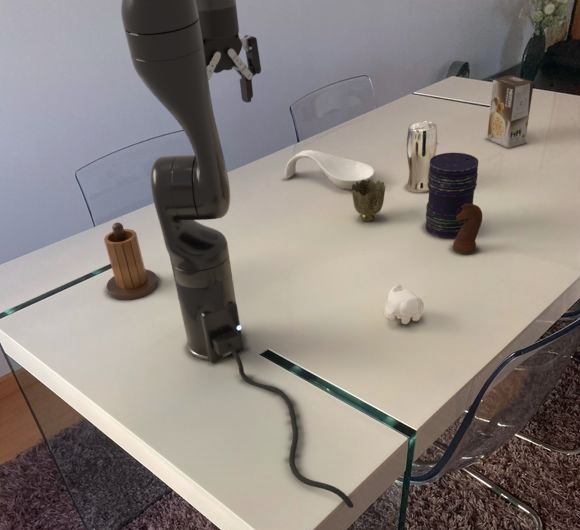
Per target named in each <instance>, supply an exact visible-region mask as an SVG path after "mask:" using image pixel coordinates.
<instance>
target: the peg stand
mask: <svg viewBox="0 0 580 530" xmlns="http://www.w3.org/2000/svg"><path fill="white" fill-rule="evenodd" d="M124 229H125V228H124V225H123V224H122V223H121V222H114V223H113V224H112V232H113V233H114V236H115V240H116V242H122V241H125V240H126V236H125V232H124ZM145 271H146V275H147V280H146V282H145V283H144V284H143V285H141V286H139V287H136V288H133V289H123V288H120V287H118V286H117V284H116V281H115V277H114V275H113V276H112V277H111V278H110V279H109V280H108V281H107V283H106V289H107V293H108V295H109V296H110V297H111V298H113V299H116V300H121V301H131V300H136V299H140V298H143V297H145V296H147V295H149V294H151V293H152V292H154V291H155V290H156V289H157V287H158V285H159V281H158V277H157V274H156V273H155V272H154V271H152V270H150V269H146V268H145Z"/></svg>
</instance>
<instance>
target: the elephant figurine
mask: <svg viewBox="0 0 580 530" xmlns="http://www.w3.org/2000/svg"><path fill="white" fill-rule="evenodd" d="M387 298H388V299H387V301H386V305H385V308H384V311H383V313H384V314H385V317H386V319H387V320H388V321H393V320H395V318H397V319H398V320H401V323H402V325H407V324H409V323H410V321H411V320H412V321H413V322H417V321H419V320H420V318H421V316H422V314H423V311H424V307H425V304H424V299H425V298H427V295H424V297H421V298H420V296H418V295H417V294H416V293H415V292H414V291H413V290H411V289H403V285H402V284H396V285H395V286H394V287H392V288H391V289H390V290H389V293H388V295H387Z"/></svg>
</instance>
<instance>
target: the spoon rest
mask: <svg viewBox="0 0 580 530" xmlns="http://www.w3.org/2000/svg"><path fill="white" fill-rule="evenodd" d="M304 158H306V159H310V160H312V161H314V163H316V164H317V165H318V166H319V168H320V169H321V171H322V172H323V173H324V174H325V176H326V177H327V178H328V180H329V181H330V182H331V183H332V184H333V185H335V186H336V187H338V188H339V189H342V190H352V185H353V184H355V185H356V182H359V183H360V182H361V180H366V181H367V182H368V180H369V179H370V180H372V179H373V177H374V176H375V174H376V171H375V168H373V167H372V166H371V165H369V164H367V163H364V162H362V161H358V160H353V159H350V158H346V157H345V158H344V157H341V156H337V155H335V154H330V153H327V152H323V151H319V150H314V149H307V150H302V151H299V152H298V153H297V154H295V155H294V156H293V157H291V158H290V159H289V160H288V162H287V164H286V166H285V170H284V178H285V179H290V178H291V177H293V175H295V174H296V169H297V168H296V165H297V162H298V160H300V159H304Z"/></svg>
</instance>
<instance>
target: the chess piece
mask: <svg viewBox="0 0 580 530" xmlns="http://www.w3.org/2000/svg"><path fill="white" fill-rule="evenodd" d="M464 204H465V205H463V206H461V208H462V209H463V210H462V212H461V213H460V214H459V215H458V216H457V217H456V219H457V221H458V222H459V221H461V220H465V219H467V221H466V222H465V223H464V224H463V226H462V227H461V229H460V231H459V232H458V235H457V236H456V238H455V240H453V245H452V250H453V252H454V253H456V254H459V255H462V256H463V255H465V256H466V255H471V254H474V253H475V252H476V251H477V242H476V239H477V236H478V235H479V234H478V233H479V231H480V228H481V226H482V222H483V211H482V208H481V207H479V206H478V205H477V204H474V203H473V204H466V203H464Z"/></svg>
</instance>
